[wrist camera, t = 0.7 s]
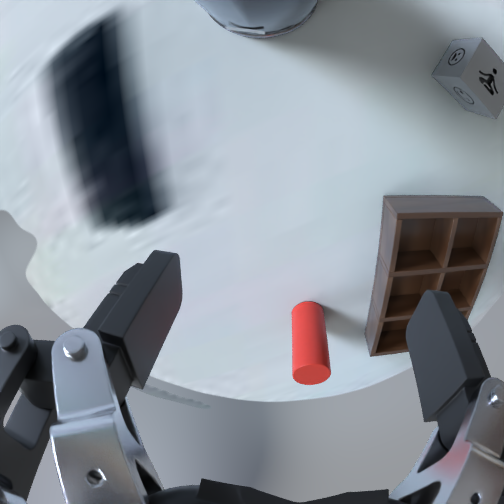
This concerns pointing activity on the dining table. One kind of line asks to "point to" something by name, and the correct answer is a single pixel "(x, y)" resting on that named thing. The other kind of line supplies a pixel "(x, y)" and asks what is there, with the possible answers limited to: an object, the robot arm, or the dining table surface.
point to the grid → (427, 260)
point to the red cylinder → (309, 344)
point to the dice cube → (473, 76)
